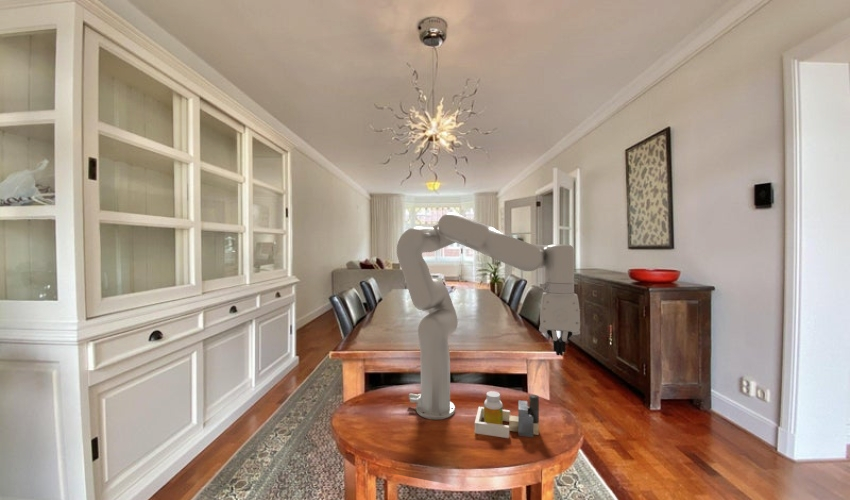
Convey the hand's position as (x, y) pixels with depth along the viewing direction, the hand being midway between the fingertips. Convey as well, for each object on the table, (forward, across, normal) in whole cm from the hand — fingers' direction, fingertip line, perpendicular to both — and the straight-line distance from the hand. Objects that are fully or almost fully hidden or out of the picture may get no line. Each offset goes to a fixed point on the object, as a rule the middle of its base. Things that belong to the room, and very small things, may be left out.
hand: (559, 353), depth 94 cm
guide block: (+23, -9, 0) cm, 25 cm away
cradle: (+23, -18, 0) cm, 29 cm away
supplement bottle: (+23, -18, 0) cm, 30 cm away
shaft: (+23, -10, 0) cm, 25 cm away
